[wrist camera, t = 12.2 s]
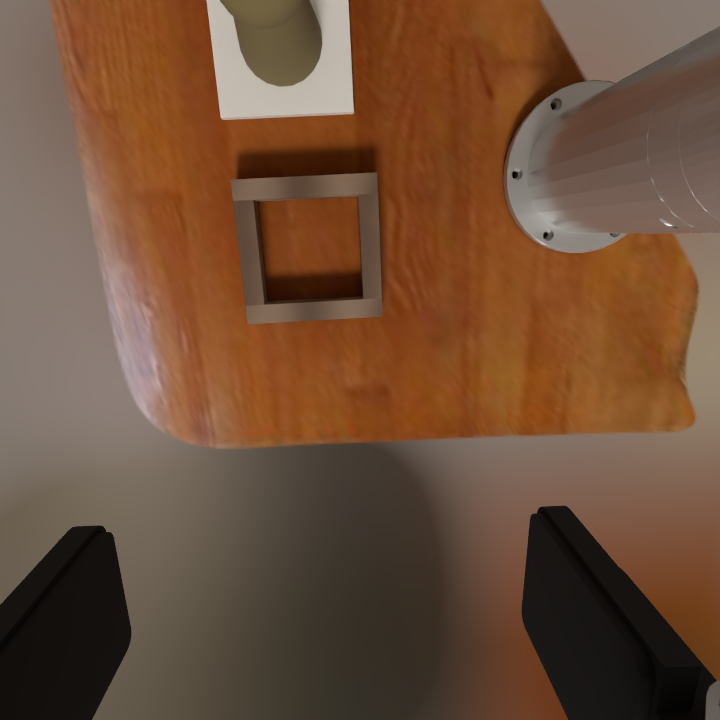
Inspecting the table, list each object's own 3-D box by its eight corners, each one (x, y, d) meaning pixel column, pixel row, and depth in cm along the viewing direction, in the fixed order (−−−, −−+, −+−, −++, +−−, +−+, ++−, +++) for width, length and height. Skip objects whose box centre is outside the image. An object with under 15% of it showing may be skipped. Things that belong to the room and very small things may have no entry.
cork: (238, -14, 32) (187, -137, 21) (324, -5, 32) (316, -121, 22) (238, 82, 33) (190, 13, 23) (320, 90, 34) (310, 25, 23)
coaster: (345, -43, 32) (346, -48, 32) (353, 114, 35) (353, 111, 34) (204, -37, 32) (201, -43, 31) (222, 119, 35) (220, 117, 34)
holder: (375, 175, 36) (377, 172, 34) (380, 312, 39) (382, 316, 37) (236, 182, 36) (230, 179, 34) (252, 319, 39) (247, 324, 37)
